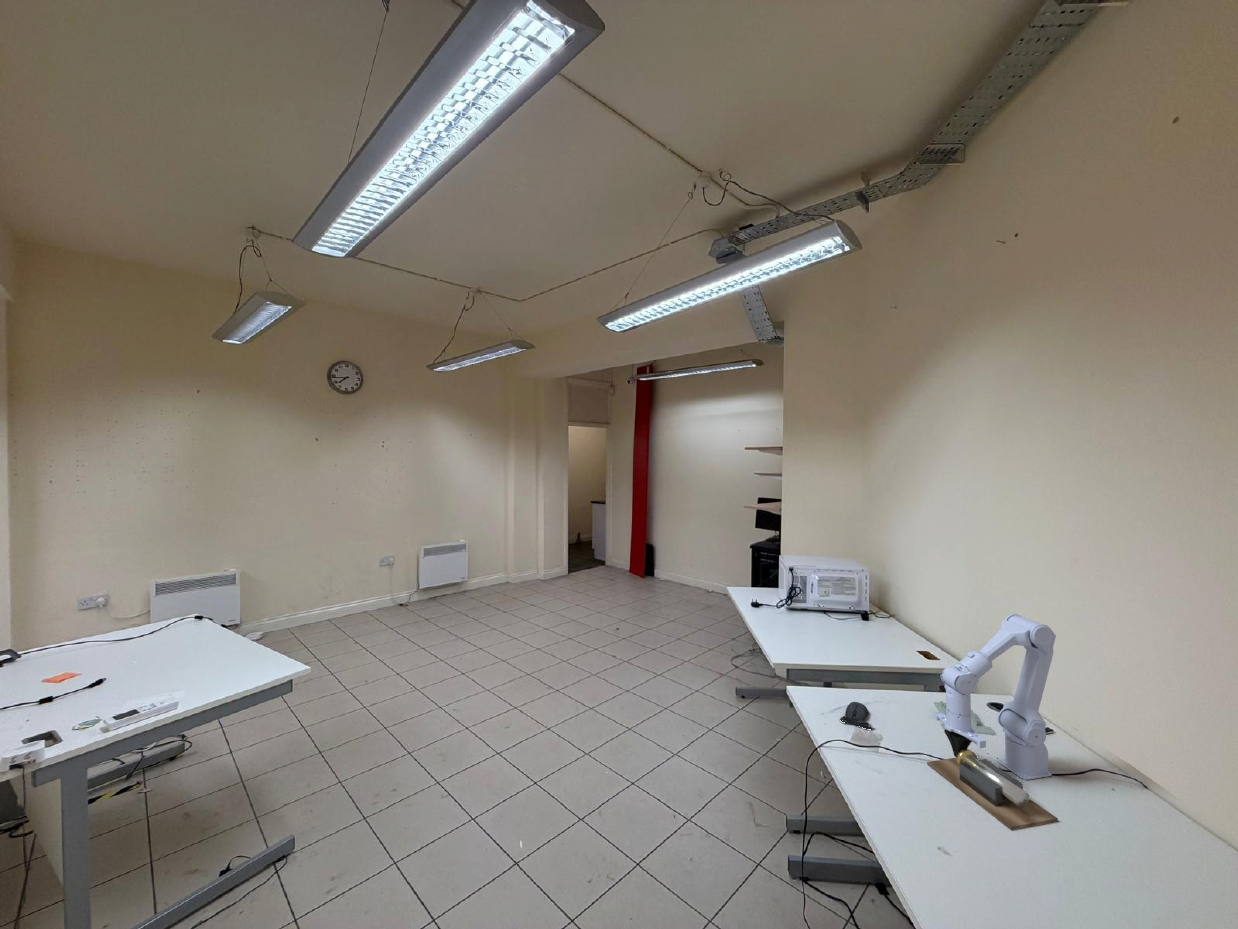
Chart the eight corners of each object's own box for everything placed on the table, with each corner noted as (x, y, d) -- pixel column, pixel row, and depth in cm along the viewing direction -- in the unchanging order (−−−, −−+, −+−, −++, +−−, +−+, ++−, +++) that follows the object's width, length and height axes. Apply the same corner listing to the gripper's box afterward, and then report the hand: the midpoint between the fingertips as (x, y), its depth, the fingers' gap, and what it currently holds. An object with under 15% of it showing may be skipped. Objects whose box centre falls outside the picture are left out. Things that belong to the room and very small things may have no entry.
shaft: (972, 767, 128) (972, 746, 128) (1032, 809, 112) (1032, 786, 112) (954, 770, 127) (954, 749, 127) (1013, 813, 111) (1012, 789, 111)
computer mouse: (875, 712, 160) (875, 702, 160) (872, 733, 148) (872, 722, 148) (844, 704, 166) (844, 694, 166) (839, 724, 153) (838, 713, 153)
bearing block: (985, 775, 126) (985, 759, 126) (1023, 801, 116) (1022, 784, 116) (959, 779, 124) (959, 763, 124) (995, 806, 114) (995, 788, 114)
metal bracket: (926, 695, 160) (973, 698, 157) (924, 708, 161) (970, 712, 159) (948, 729, 146) (999, 733, 143) (945, 743, 148) (996, 747, 145)
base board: (967, 758, 134) (967, 756, 134) (1057, 821, 110) (1057, 818, 110) (927, 764, 132) (927, 762, 132) (1011, 830, 108) (1011, 827, 108)
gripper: (925, 699, 135) (926, 743, 135) (970, 727, 121) (971, 776, 121) (945, 696, 137) (946, 740, 137) (992, 724, 122) (992, 772, 122)
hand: (959, 757), depth 129 cm, fingers closed
